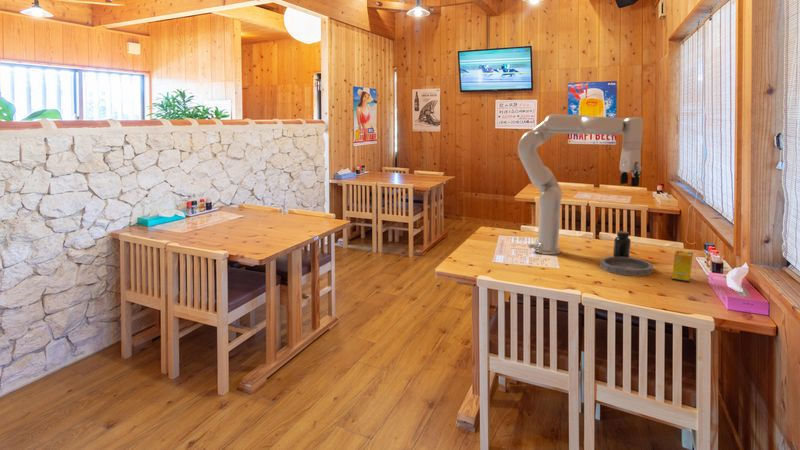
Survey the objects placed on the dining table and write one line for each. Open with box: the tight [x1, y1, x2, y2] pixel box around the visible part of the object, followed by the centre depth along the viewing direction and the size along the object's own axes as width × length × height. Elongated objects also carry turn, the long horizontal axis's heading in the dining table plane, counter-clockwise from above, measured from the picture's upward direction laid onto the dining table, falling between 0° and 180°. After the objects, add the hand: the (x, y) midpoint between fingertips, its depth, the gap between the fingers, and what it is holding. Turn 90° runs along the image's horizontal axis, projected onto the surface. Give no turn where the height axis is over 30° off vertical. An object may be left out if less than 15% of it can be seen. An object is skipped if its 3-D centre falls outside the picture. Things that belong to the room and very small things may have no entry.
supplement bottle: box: [612, 230, 631, 257], centre depth 213 cm, size 7×7×12 cm
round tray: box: [599, 256, 654, 277], centre depth 197 cm, size 20×20×2 cm
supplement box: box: [671, 250, 694, 284], centre depth 182 cm, size 6×6×11 cm
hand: (629, 184), depth 206 cm, fingers open, 9 cm apart
